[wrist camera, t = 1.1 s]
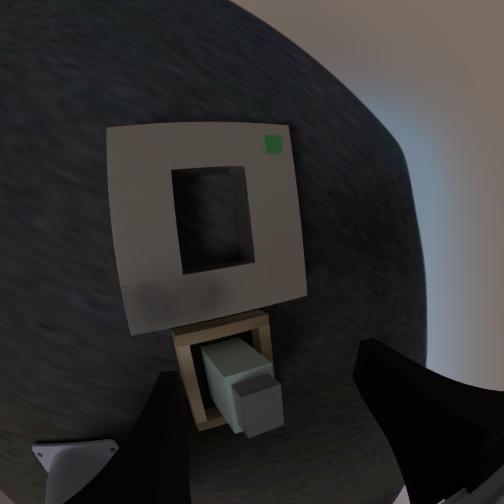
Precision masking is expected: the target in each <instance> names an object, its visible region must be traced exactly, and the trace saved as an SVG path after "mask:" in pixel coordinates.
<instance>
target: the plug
mask: <svg viewBox="0 0 504 504" xmlns="http://www.w3.org/2000/svg"><path fill="white" fill-rule="evenodd" d="M201 352H202V357H203V362H204V367H205V372H206V377H207V381H208V386H209V390H210V395H211V398H212V400H213V401H214V403H215V404H216V406H217V407H218V409H219V410H220V412H221V413H222V415H223V416H224V418H225V419H226V421H227V422H228V424H229V425H230V427H231V428H232V430H233V431H234V433H235V434H236V433H239V432H242V431H243V432H244V434H245V435H246V436H247V437H248V438H251V437H254V436H256V435H259V434H262V433H264V432H267V431H269V430H272V429H274V428H277V427H279V426H282V425H284V417H283V405H282V394H281V384H280V383H279V382H278V381H277V380H275V379H274V378H273V372H272V363H271V362H270V361H269V360H267V359H266V358H265V357H264V356H262V355H261V354H260V353H258V352H257V351H256V350H255V349H253V348H252V347H251V346H250V345H248V344H247V343H246V342H245V341H243V340H242V339H241V338H240V337H238V338H234V339H231V340H227V341H223V342H219V343H215V344H211V345H207V346H203V347H201Z"/></svg>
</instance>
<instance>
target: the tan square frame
mask: <svg viewBox="0 0 504 504" xmlns="http://www.w3.org/2000/svg"><path fill="white" fill-rule="evenodd" d="M171 330H172V335H173V340H174V344H175V349H176V353H177V358H178V362H179V366H180V370H181V374H182V379H183V382H184V386H185V390H186V394H187V398H188V401H189V405H190V409H191V412H192V416H193V419H194V422H195V424H196V426H197V428H198V430H199V431H202V430H206V429H210V428H213V427H216V426H220V425H223V424H226V423H228V422H227V421H226V419H225V418H224V416H223V415H222V413H221V412H220V410H219V409H218V407H214V408H210V409H207V410H204V407H203V403H202V399H201V395H200V391H199V386H198V382H197V378H196V373H195V369H194V364H193V360H192V355H191V350H190V345H192V344H196V343H200V342H205V341H209V340H213V339H217V338H221V337H225V336H229V335H233V334H237V333H241V332H244V331H248V330H251V332H252V340H253V348H254V349H255V350H256V351H257V352H258V353H260V354H261V355H262V356H264V357H265V358H266V359H267V360H269V361H270V362H271V363H272V372H273V378H274V379H275V376H274V366H273V356H272V346H271V336H270V326H269V317H268V314H267V313H265V312H263V311H261V310H259V309H258V310H254V311H250V312H246V313H242V314H238V315H233V316H229V317H225V318H221V319H216V320H212V321H207V322H203V323H198V324H194V325H189V326H184V327H180V328H175V329H171Z"/></svg>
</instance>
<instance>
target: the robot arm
mask: <svg viewBox="0 0 504 504" xmlns="http://www.w3.org/2000/svg"><path fill="white" fill-rule="evenodd" d="M352 376H353V379H354V381H355V384H356V386H357V388H358V390H359V393H360V395H361V397H362V398H363V400H364V402H365V403H366V405H367V406H368V408H369V410H370V411H371V413H372V414H373V416H374V418H375V419H376V421H377V422H378V424H379V426H380V427H381V429H382V430H383V432H384V434H385V436H386V437H387V439H388V441H389V443H390V446H391V448H392V450H393V452H394V455H395V457H396V460H397V462H398V465H399V467H400V470H401V473H402V476H403V479H404V482H405V485H406V489H407V492H408V496H409V500H410V504H438V503H439V502H441V501H442V500H444V499H445V501H444V502H443V503H441V504H504V391H495V390H488V389H483V388H478V387H474V386H471V385H467V384H464V383H461V382H458V381H455V380H452V379H449V378H447V377H444V376H442V375H440V374H438V373H435V372H433V371H431V370H429V369H427V368H425V367H423V366H421V365H420V364H418V363H416V362H414V361H412V360H410V359H409V358H407V357H405V356H404V355H402V354H400V353H398V352H397V351H395V350H393V349H392V348H390V347H388V346H387V345H385V344H383V343H382V342H380V341H378V340H376V339H374V338H370V339H366V340H362V341H360V345H359V350H358V354H357V359H356V363H355V367H354V371H353V375H352ZM111 448H114V450H113V449H111ZM32 450H33V452H34V453H35V455H36V456H37V458H38V459H39V461H40V462H41V464H42V465H43V466H44V468H45V469H46V471H47V472H48V473H49V474H48V481H47V489H46V498H45V504H192V503H191V496H190V488H189V416H188V405H187V402H186V398H185V395H184V392H183V389H182V385H181V382H180V379H179V375H178V372H177V371H167V372H161V373H160V374H159V376H158V378H157V380H156V383H155V385H154V387H153V390H152V392H151V394H150V396H149V398H148V400H147V402H146V404H145V406H144V408H143V410H142V412H141V413H140V415H139V417H138V419H137V421H136V422H135V424H134V426H133V427H132V429H131V431H130V432H129V434H128V435H127V437H126V438H125V440H124V441H123V443H122V444H121V446H120V447H118V445H117V443H116V441H114V440H112V439H104V440H95V441H85V442H73V443H54V444H33V446H32ZM40 453H41V454H40Z"/></svg>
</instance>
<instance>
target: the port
mask: <svg viewBox="0 0 504 504" xmlns="http://www.w3.org/2000/svg"><path fill="white" fill-rule="evenodd" d="M107 172H108V190H109V204H110V215H111V225H112V233H113V241H114V249H115V256H116V263H117V269H118V275H119V281H120V286H121V292H122V297H123V302H124V307H125V311H126V316H127V321H128V325H129V329H130V333H131V335H136V334H142V333H147V332H153V331H158V330H163V329H168V328H173V327H178V326H183V325H187V324H192V323H197V322H201V321H206V320H210V319H215V318H219V317H224V316H228V315H232V314H236V313H241V312H245V311H249V310H253V309H257V308H261V307H265V306H269V305H273V304H277V303H280V302H284V301H288V300H292V299H295V298H299V297H303V296H306V295H307V285H306V273H305V261H304V250H303V239H302V229H301V220H300V211H299V202H298V193H297V185H296V177H295V169H294V162H293V154H292V147H291V140H290V134H289V127H288V125H276V124H261V123H240V122H176V123H156V124H142V125H130V126H120V127H111V128H107ZM213 174H230V176H231V185H232V194H233V203H234V212H235V220H236V229H237V238H238V246H239V255H240V260H235V261H229V262H223V263H217V264H211V265H205V266H200V267H194V268H188V269H182V264H181V257H180V249H179V242H178V234H177V225H176V216H175V207H174V197H173V187H172V177H184V176H197V175H213Z"/></svg>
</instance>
